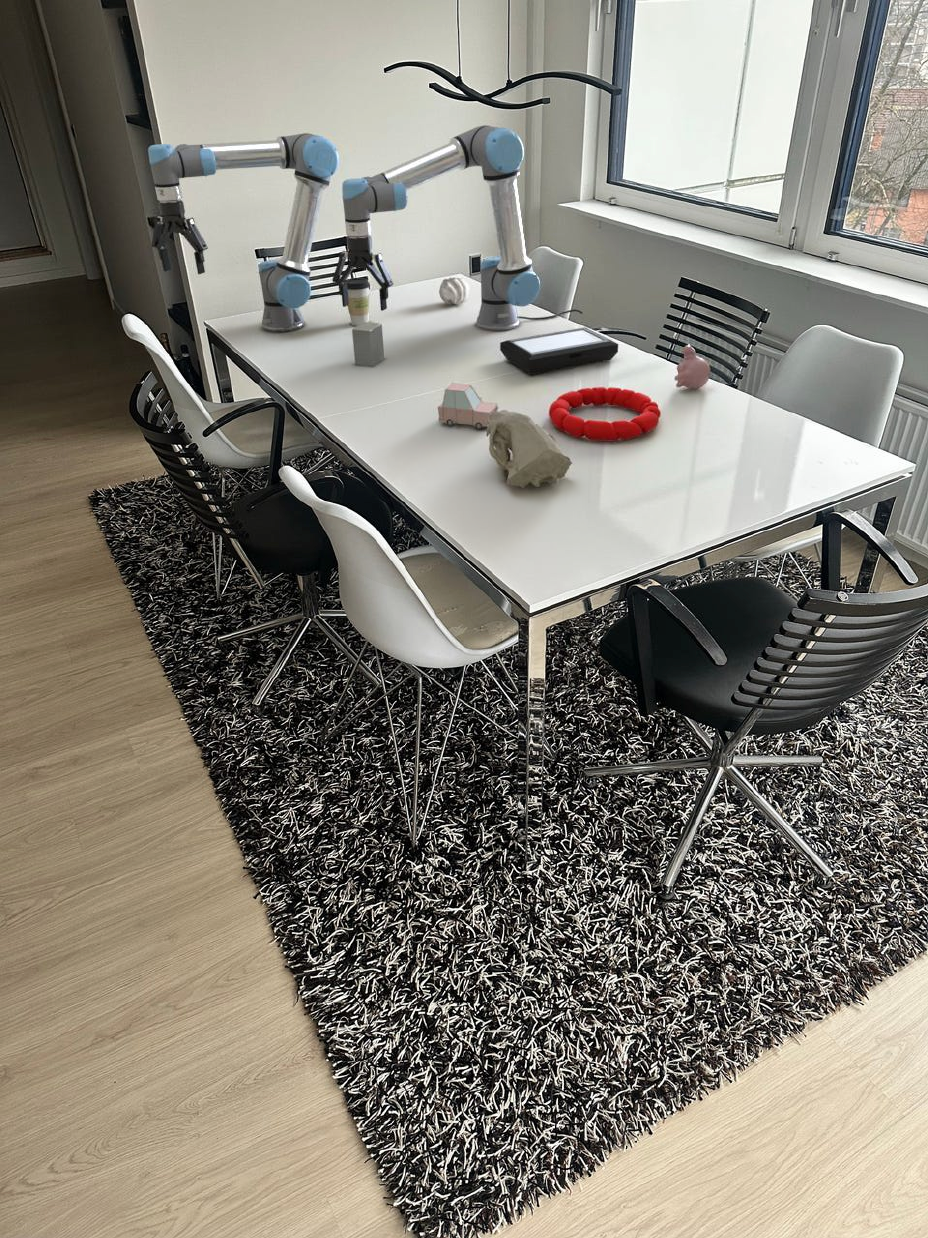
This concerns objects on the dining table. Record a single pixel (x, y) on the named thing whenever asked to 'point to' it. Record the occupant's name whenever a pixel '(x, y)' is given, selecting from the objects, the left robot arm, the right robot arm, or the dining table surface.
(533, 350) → the electronic device
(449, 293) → the seashell
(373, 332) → the block
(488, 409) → the toy car
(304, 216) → the left robot arm
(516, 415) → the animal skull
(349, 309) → the coffee cup
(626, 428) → the decorative ring
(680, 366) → the figurine
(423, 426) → the dining table surface
